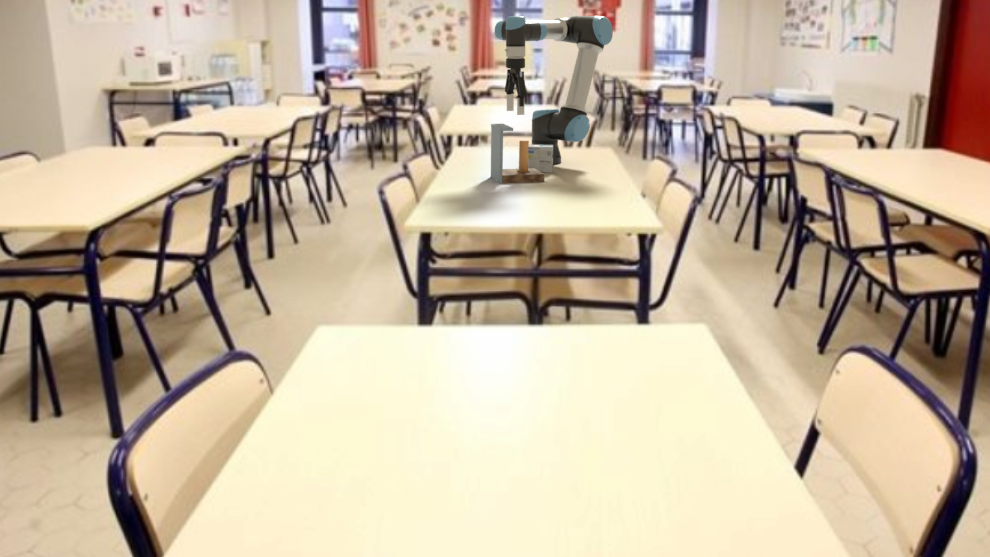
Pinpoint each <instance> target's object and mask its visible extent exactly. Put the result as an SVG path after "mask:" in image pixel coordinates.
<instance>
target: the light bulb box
mask: <svg viewBox="0 0 990 557" xmlns="http://www.w3.org/2000/svg"><path fill="white" fill-rule="evenodd" d="M528 168H535V169H536V170H538V171H540V172H542V173H549V174H550V173H553V171H554V170H553V168H554V164H553V145H531V144H529V150H528Z"/></svg>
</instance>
